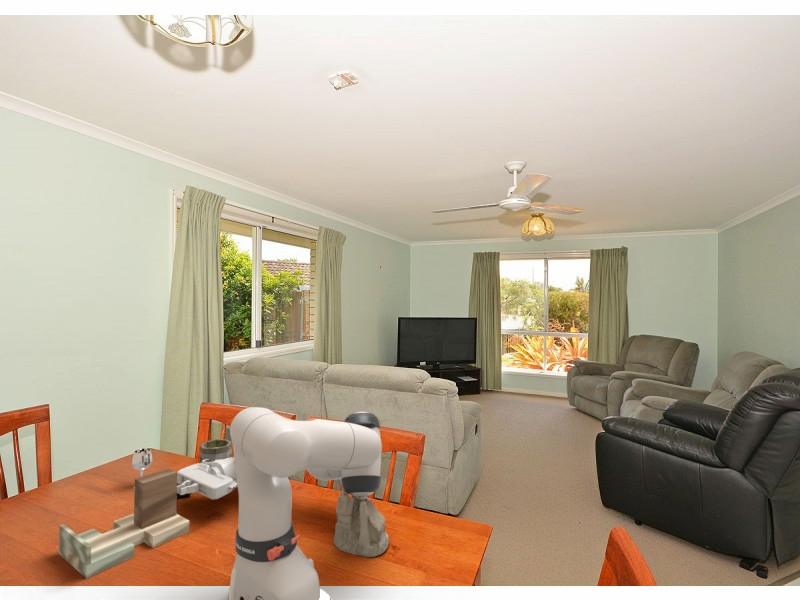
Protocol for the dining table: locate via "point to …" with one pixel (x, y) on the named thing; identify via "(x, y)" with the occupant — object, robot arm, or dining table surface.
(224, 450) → the mug
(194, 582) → the dining table surface
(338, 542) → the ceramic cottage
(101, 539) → the cream block stand
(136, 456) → the wineglass
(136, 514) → the walnut block
